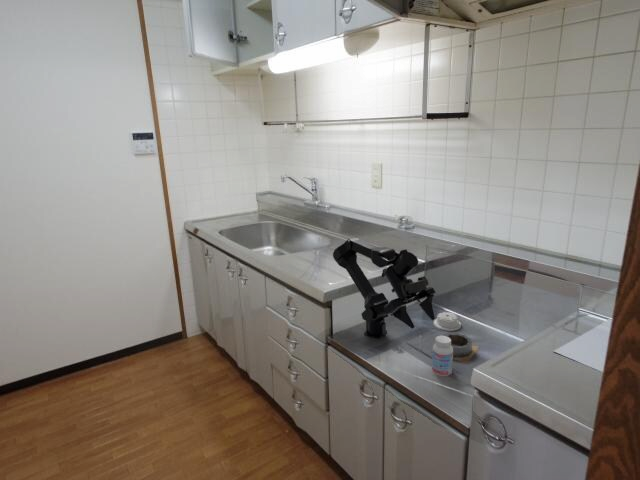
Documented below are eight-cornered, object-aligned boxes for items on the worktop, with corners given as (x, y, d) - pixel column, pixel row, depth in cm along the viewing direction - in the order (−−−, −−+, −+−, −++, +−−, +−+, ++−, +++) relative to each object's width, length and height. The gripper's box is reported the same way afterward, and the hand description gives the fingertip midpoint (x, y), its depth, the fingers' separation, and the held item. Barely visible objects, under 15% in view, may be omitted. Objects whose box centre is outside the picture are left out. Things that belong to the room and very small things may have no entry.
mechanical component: (464, 324, 154) (440, 318, 160) (465, 314, 153) (440, 308, 159) (454, 335, 147) (429, 328, 153) (455, 324, 146) (429, 317, 152)
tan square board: (431, 353, 135) (431, 352, 135) (445, 338, 144) (445, 337, 144) (467, 364, 128) (467, 363, 128) (479, 348, 137) (479, 347, 137)
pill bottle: (429, 374, 124) (430, 341, 121) (434, 364, 129) (435, 332, 126) (449, 379, 121) (451, 345, 118) (454, 369, 126) (455, 336, 123)
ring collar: (435, 351, 135) (435, 342, 134) (447, 339, 143) (447, 330, 142) (465, 360, 129) (465, 351, 128) (475, 347, 137) (475, 338, 136)
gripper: (390, 276, 123) (416, 322, 117) (432, 263, 133) (458, 305, 127) (373, 293, 131) (397, 336, 125) (414, 279, 141) (438, 319, 135)
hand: (423, 323), depth 128 cm, fingers open, 9 cm apart
